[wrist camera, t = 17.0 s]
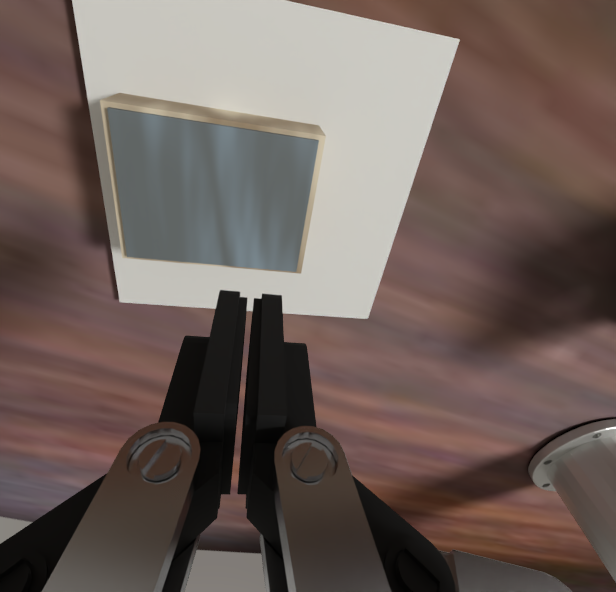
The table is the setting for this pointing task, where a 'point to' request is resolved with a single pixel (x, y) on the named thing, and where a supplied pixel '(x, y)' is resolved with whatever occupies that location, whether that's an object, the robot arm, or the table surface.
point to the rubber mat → (282, 105)
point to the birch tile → (210, 183)
